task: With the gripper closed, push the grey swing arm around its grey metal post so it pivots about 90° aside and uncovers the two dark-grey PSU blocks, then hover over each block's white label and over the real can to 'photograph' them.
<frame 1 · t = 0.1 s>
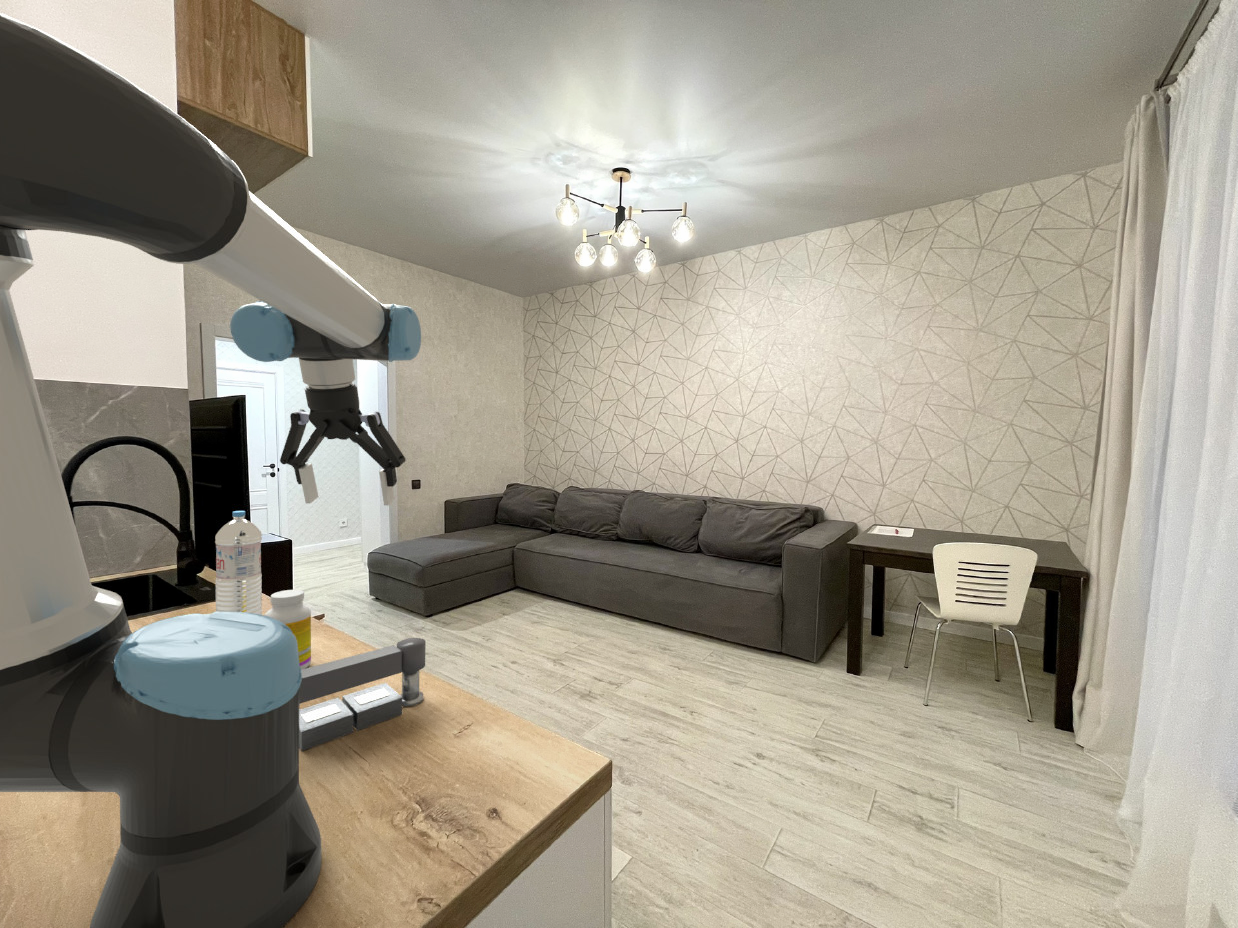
hand: (350, 501, 90), 28 cm above the counter, tool tilted 20°, fingers open, 13 cm apart
cable arm: (365, 667, 71), point 7 cm above the counter, hinge at 0.0°
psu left: (321, 731, 67), on the counter
pivot post: (410, 700, 76), on the counter
supplement bottle: (287, 669, 85), on the counter
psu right: (372, 713, 72), on the counter
water bottle: (239, 645, 94), on the counter
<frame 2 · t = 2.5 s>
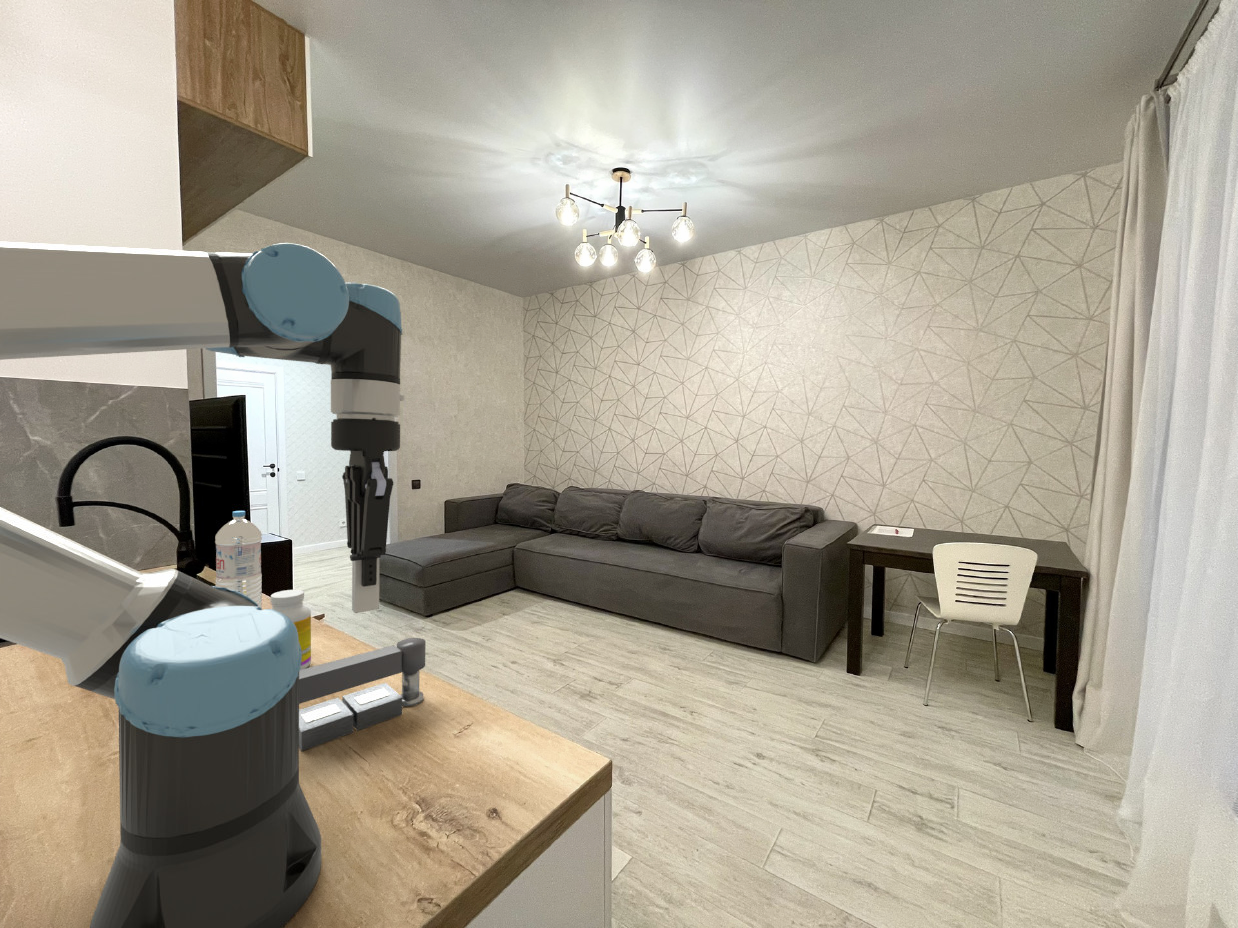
hand: (365, 609, 62), 18 cm above the counter, tool pointing down, fingers closed
nothing on the counter moved.
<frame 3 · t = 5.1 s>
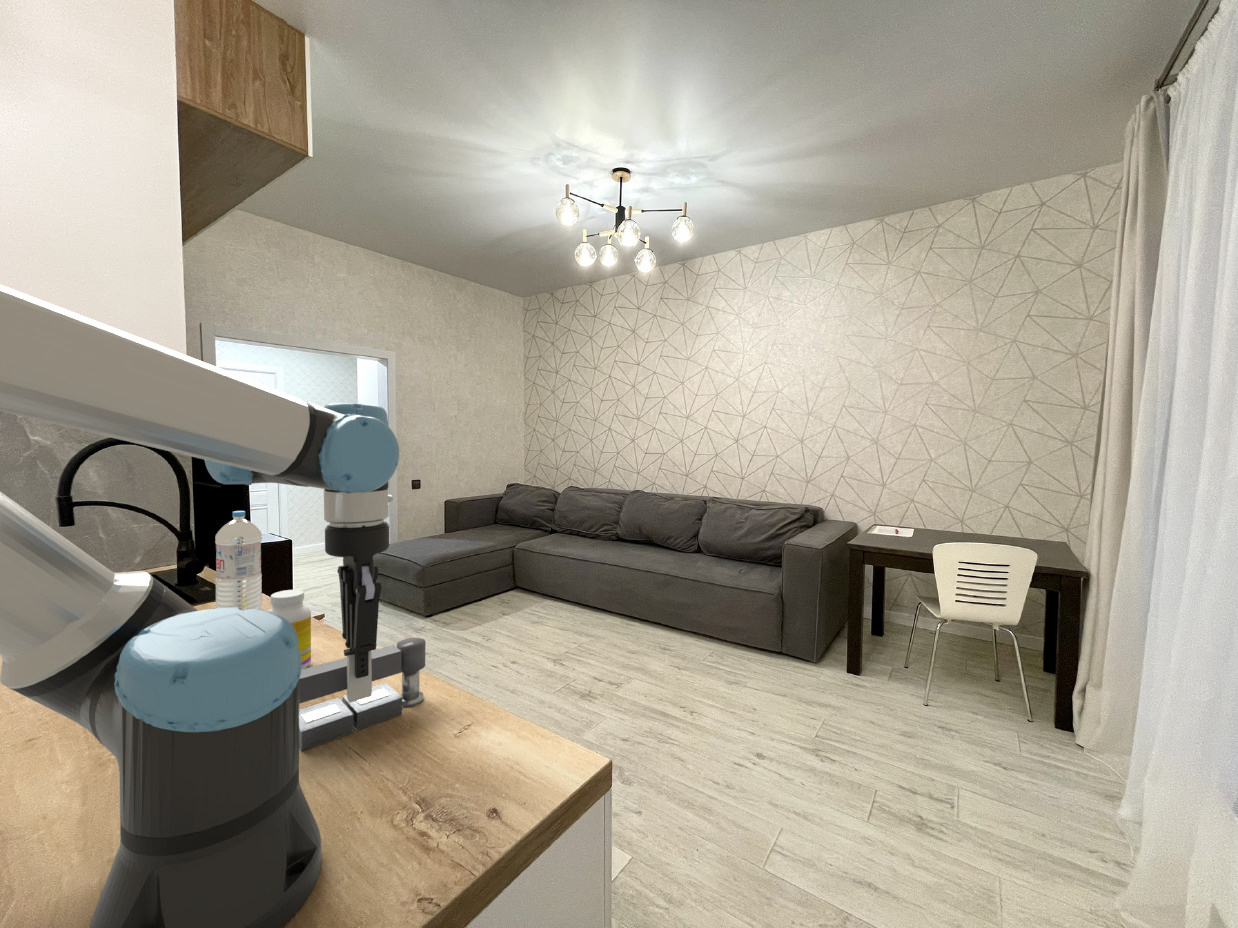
hand: (359, 697, 67), 5 cm above the counter, tool pointing down, fingers closed
cable arm: (365, 667, 71), point 7 cm above the counter, hinge at 0.2°, touching gripper
everything else where it was.
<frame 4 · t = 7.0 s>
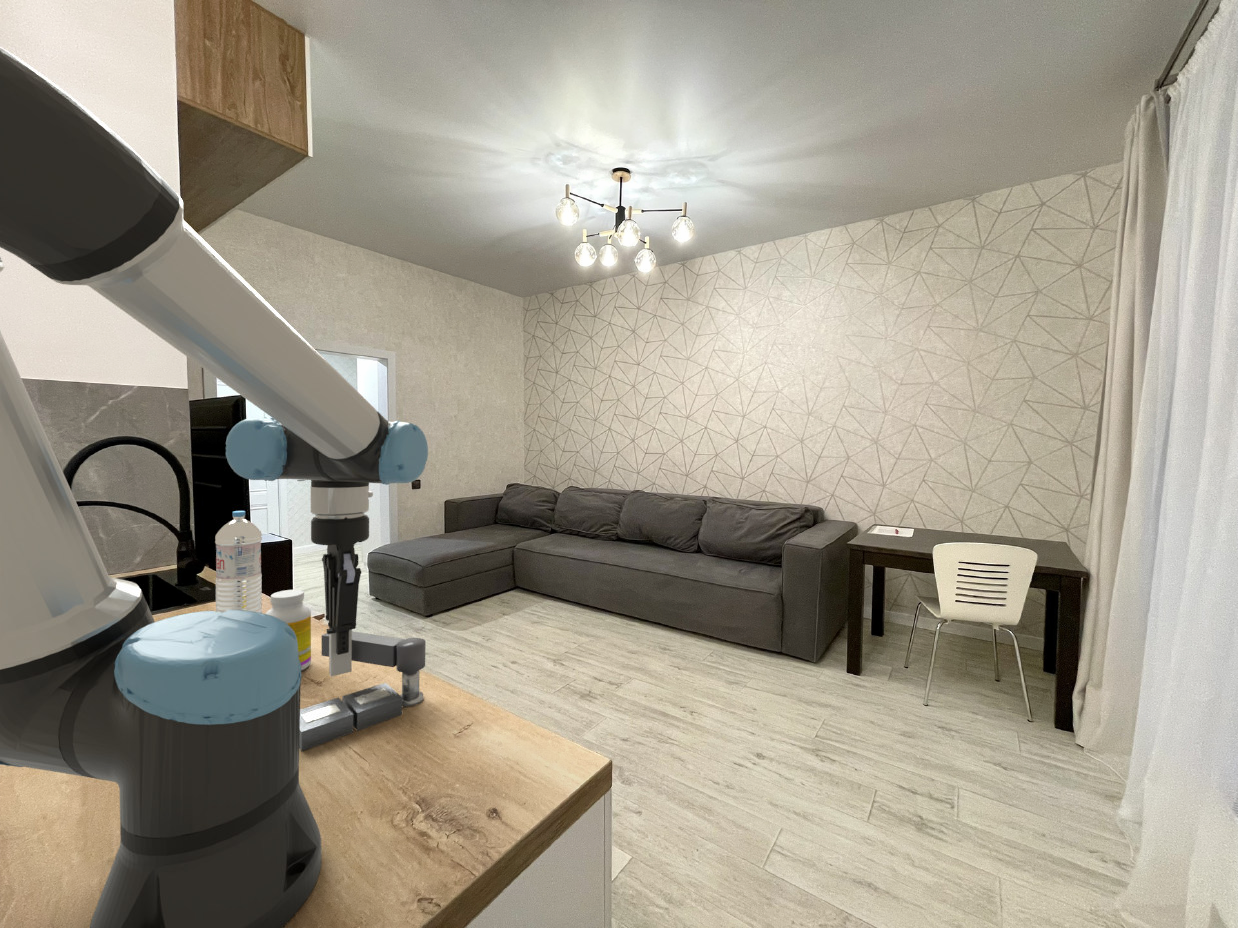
hand: (340, 672, 75), 4 cm above the counter, tool pointing down, fingers closed
cable arm: (374, 649, 77), point 7 cm above the counter, hinge at 60.4°, touching gripper
everything else where it was.
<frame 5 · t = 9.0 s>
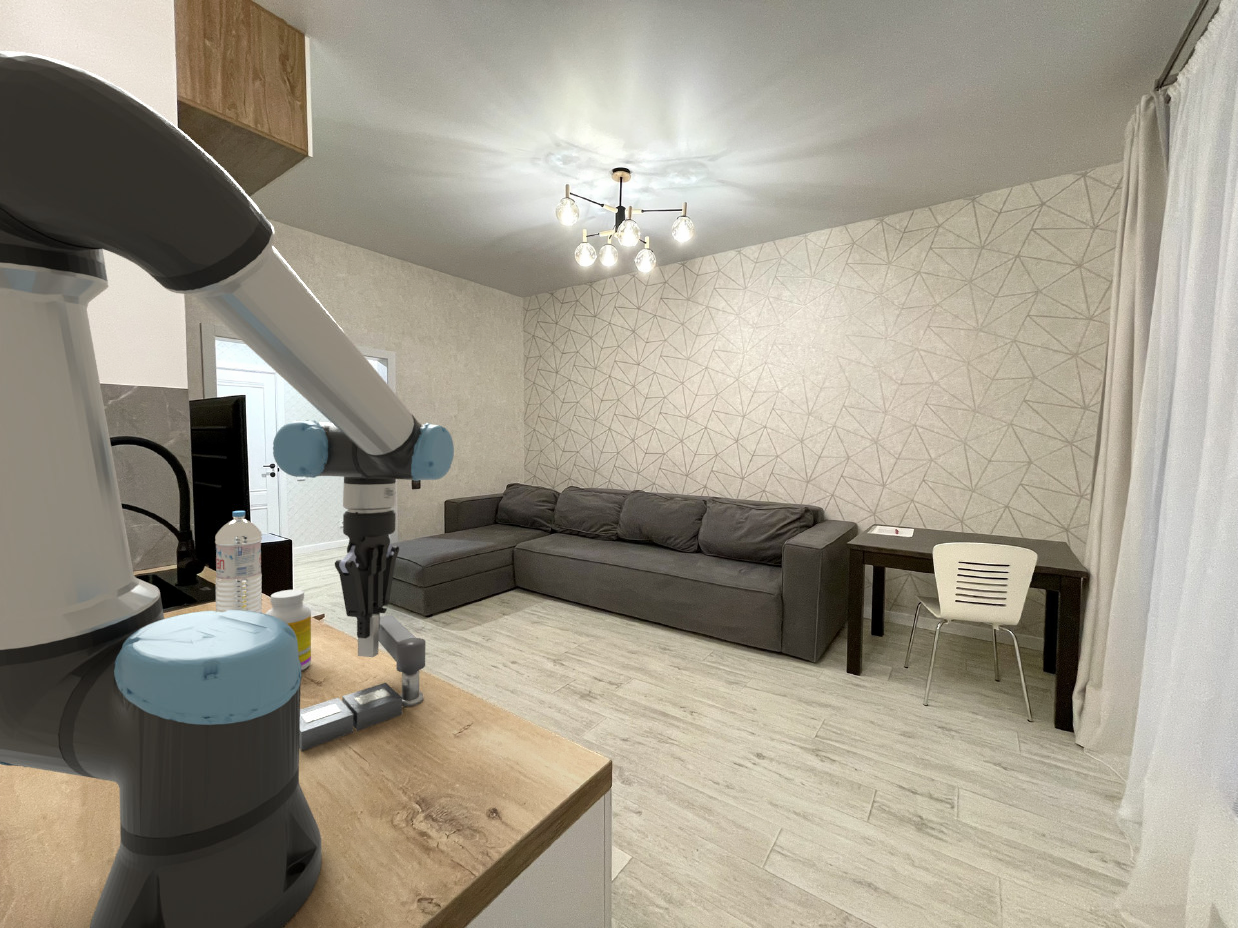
hand: (368, 654, 81), 4 cm above the counter, tool pointing down, fingers closed
cable arm: (398, 640, 80), point 7 cm above the counter, hinge at 96.0°, touching gripper
everything else where it was.
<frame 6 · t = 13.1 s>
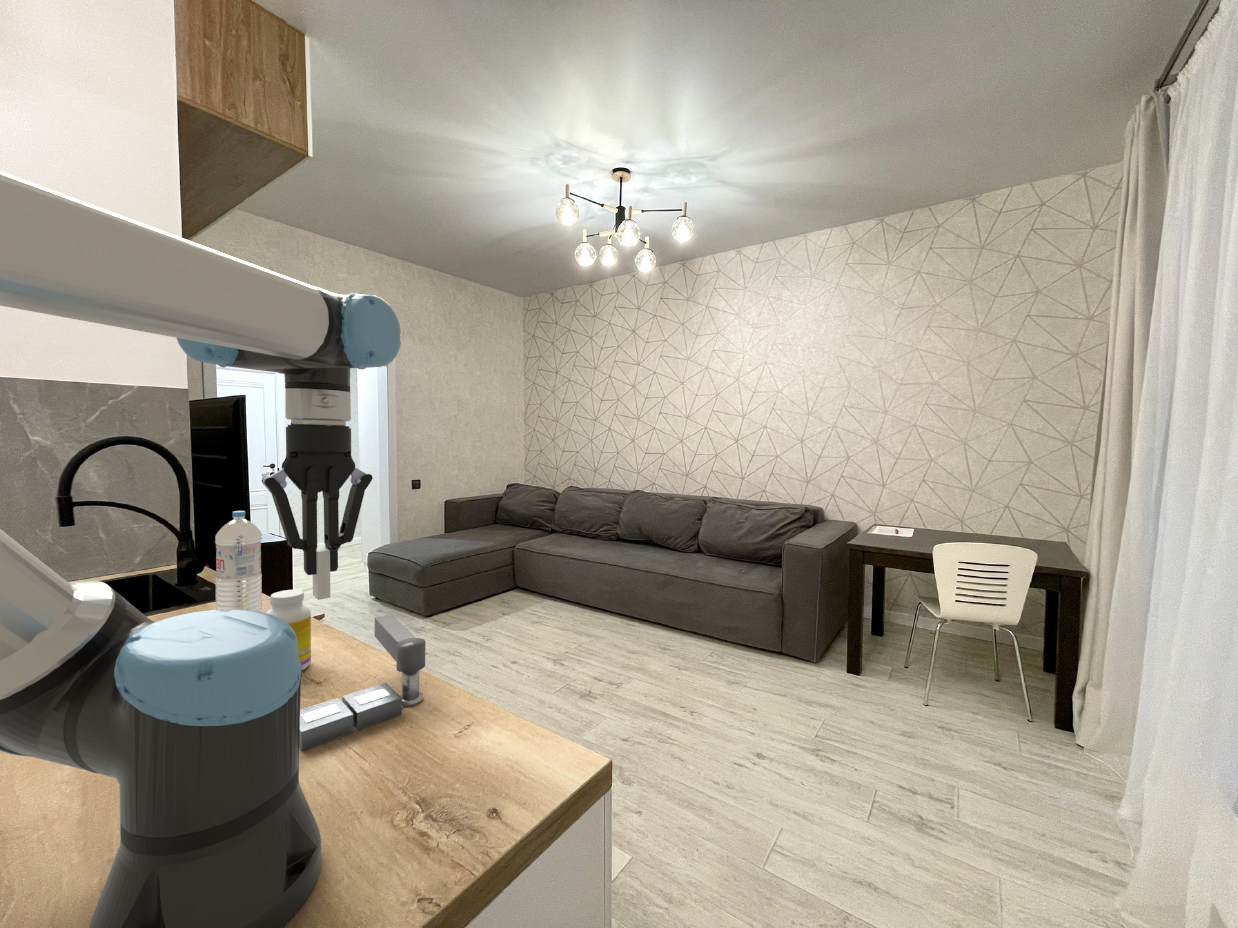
hand: (321, 596, 69), 18 cm above the counter, tool pointing down, fingers closed
cable arm: (398, 640, 80), point 7 cm above the counter, hinge at 96.1°
everything else where it was.
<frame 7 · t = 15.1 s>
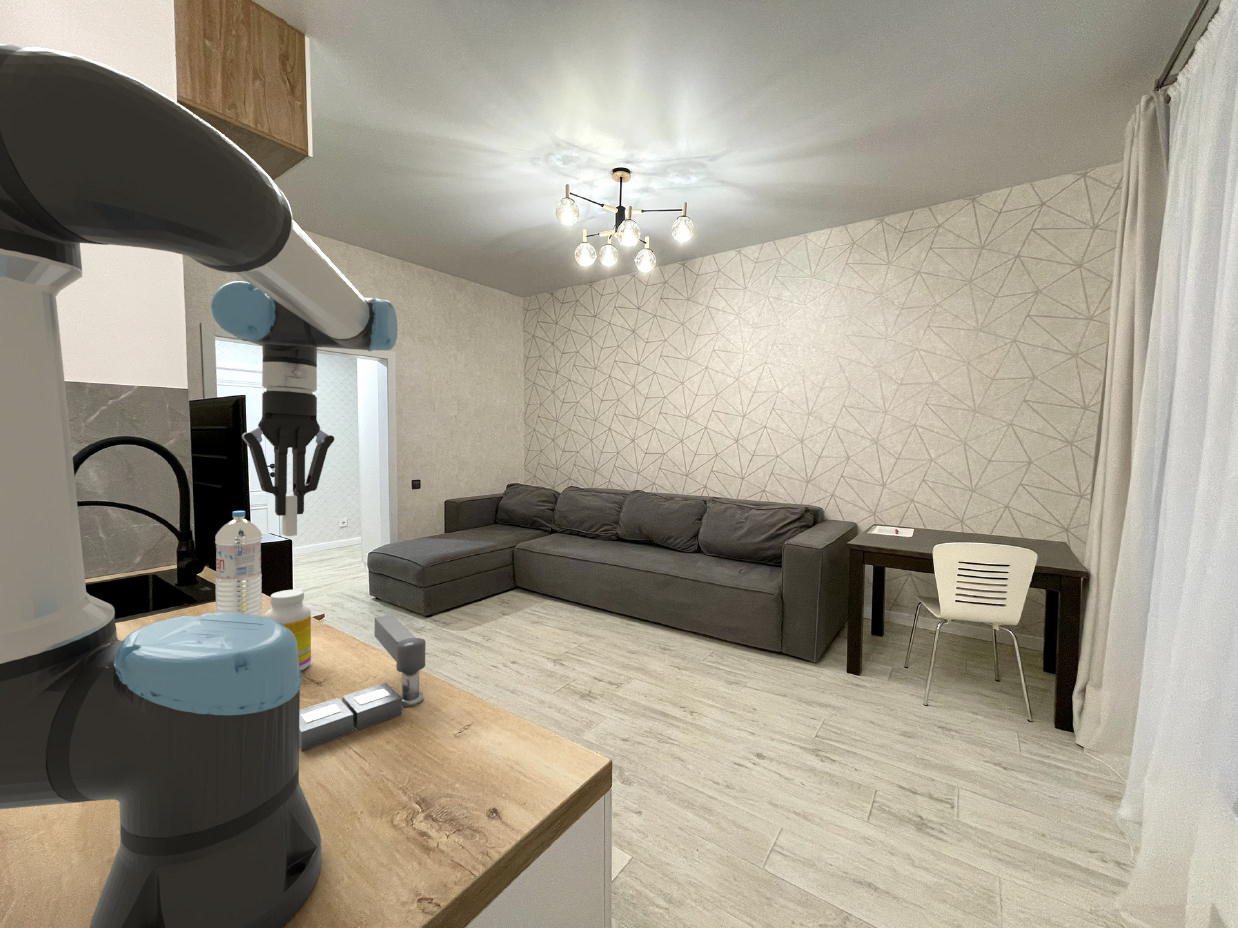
hand: (289, 534, 83), 23 cm above the counter, tool pointing down, fingers closed
nothing on the counter moved.
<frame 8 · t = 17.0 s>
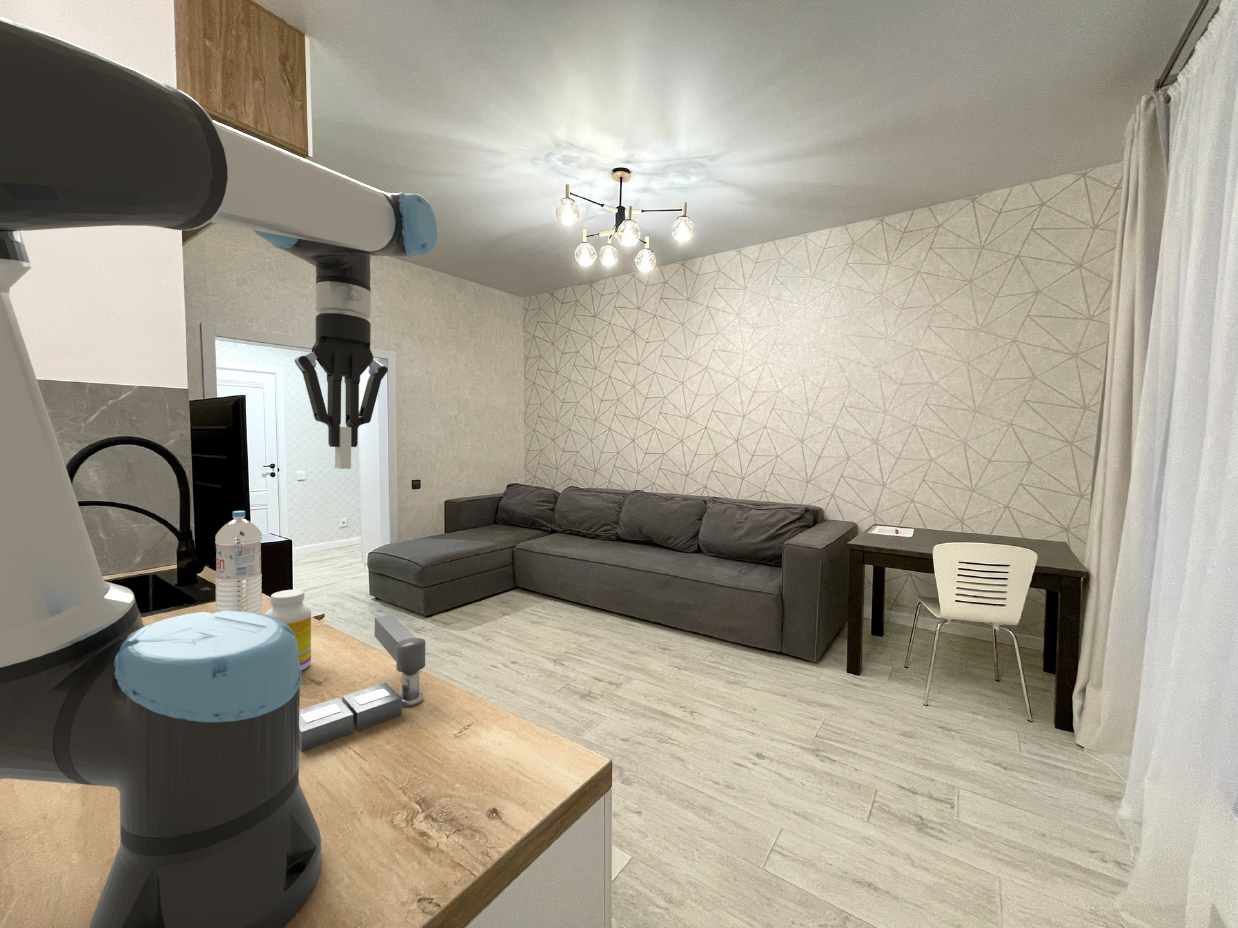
hand: (343, 468, 79), 34 cm above the counter, tool pointing down, fingers closed
nothing on the counter moved.
at the end: cable arm at +96° (first picture: +0°); supplement bottle moved 0.2 cm from its start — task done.
